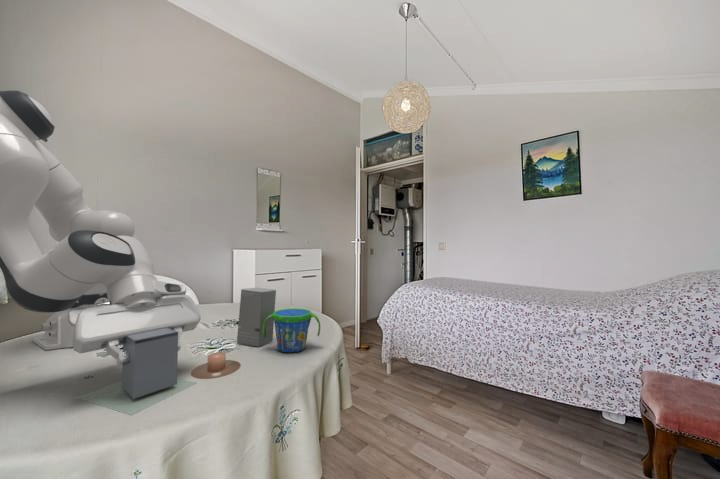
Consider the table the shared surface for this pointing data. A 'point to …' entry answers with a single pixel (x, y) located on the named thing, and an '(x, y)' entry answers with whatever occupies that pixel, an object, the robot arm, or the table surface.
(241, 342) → the skincare box
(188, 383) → the mat
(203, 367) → the brown knobbed lid
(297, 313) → the snack cup
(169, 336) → the gray box
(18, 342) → the table surface
